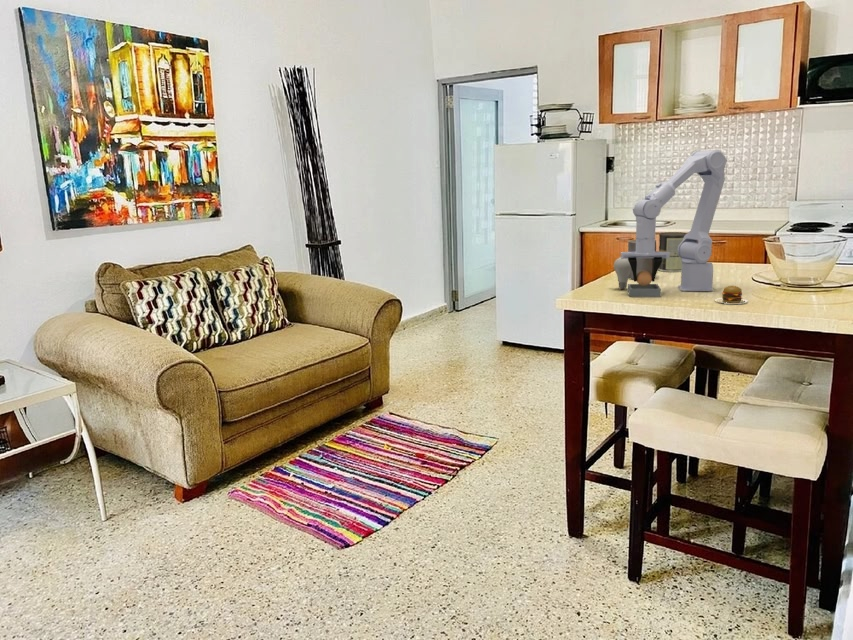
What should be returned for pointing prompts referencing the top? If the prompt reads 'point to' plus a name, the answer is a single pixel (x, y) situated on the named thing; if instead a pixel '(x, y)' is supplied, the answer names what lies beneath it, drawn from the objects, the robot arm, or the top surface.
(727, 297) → the hamburger
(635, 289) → the gray square tray
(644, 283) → the ball
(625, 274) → the lightbulb
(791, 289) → the top surface
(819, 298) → the top surface
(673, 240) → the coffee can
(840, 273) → the top surface
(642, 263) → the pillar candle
